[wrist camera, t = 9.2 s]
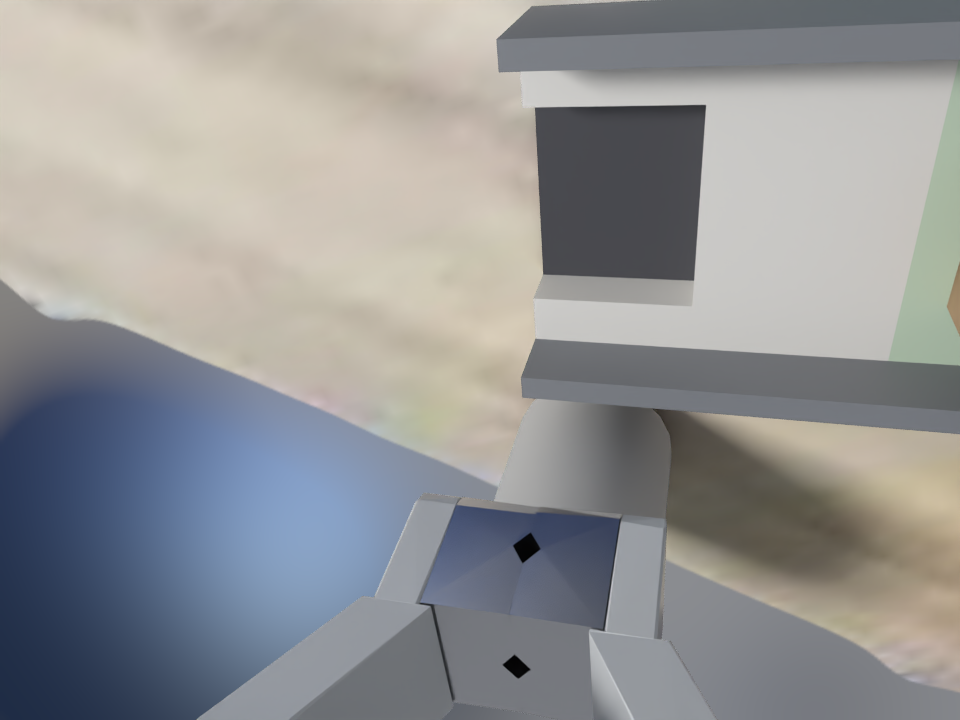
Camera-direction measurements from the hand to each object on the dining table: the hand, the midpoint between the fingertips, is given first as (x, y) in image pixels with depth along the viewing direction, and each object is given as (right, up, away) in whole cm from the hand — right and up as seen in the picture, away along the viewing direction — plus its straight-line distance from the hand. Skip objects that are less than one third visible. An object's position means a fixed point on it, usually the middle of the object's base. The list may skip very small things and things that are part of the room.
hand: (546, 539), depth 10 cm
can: (+5, -1, +30) cm, 30 cm away
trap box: (+15, +9, +20) cm, 26 cm away
